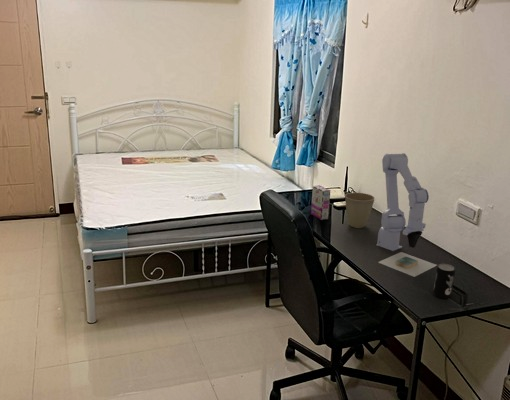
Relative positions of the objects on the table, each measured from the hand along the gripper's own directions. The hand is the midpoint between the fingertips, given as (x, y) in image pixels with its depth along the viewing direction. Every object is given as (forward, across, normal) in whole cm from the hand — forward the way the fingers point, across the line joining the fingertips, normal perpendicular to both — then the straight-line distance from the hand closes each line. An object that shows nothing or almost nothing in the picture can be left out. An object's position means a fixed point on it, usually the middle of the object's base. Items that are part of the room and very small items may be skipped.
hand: (412, 246), depth 215 cm
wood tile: (+7, +1, 0) cm, 7 cm away
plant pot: (+8, +20, +44) cm, 49 cm away
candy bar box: (+8, +15, +66) cm, 68 cm away
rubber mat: (+8, -2, 0) cm, 8 cm away
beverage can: (+8, -16, -24) cm, 30 cm away
